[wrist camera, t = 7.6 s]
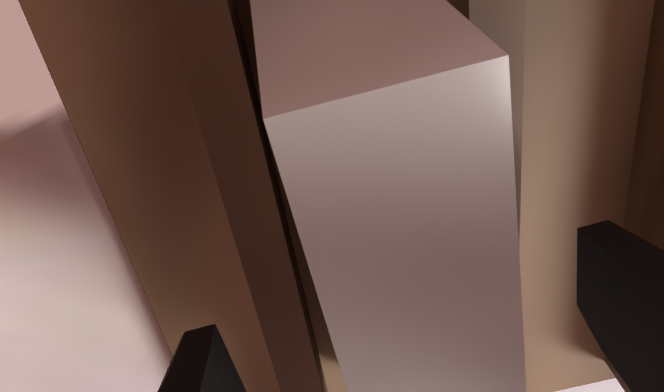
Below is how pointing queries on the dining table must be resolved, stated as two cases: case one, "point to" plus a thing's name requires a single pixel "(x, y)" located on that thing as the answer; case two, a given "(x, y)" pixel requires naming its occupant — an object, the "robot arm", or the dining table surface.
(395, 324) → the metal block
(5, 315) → the dining table surface
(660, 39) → the rack
